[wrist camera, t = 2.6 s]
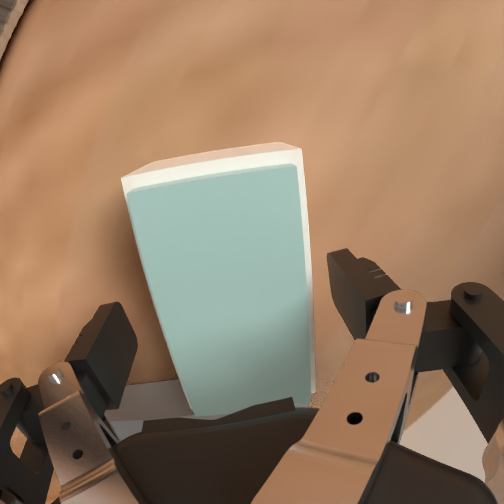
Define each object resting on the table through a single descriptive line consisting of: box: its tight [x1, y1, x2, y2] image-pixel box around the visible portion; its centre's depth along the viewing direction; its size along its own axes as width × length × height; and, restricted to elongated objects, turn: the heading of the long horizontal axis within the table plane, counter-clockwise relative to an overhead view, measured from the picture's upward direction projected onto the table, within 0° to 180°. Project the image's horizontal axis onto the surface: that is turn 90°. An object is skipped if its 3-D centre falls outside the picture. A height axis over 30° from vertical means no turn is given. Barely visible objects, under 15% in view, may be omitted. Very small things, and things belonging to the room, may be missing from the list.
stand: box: [104, 379, 309, 441], centre depth 18 cm, size 16×9×3 cm, turn 103°
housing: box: [121, 142, 315, 417], centre depth 13 cm, size 6×10×5 cm, turn 7°
